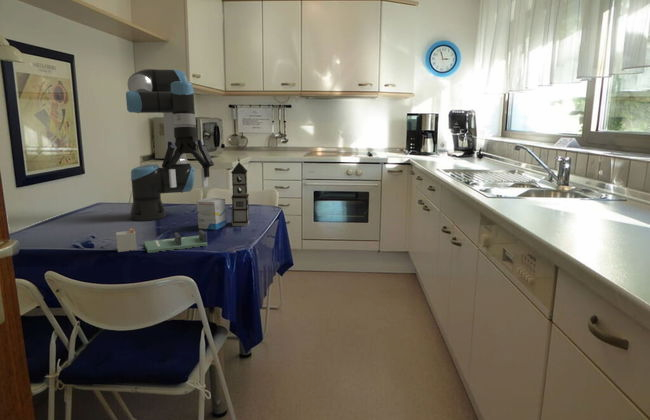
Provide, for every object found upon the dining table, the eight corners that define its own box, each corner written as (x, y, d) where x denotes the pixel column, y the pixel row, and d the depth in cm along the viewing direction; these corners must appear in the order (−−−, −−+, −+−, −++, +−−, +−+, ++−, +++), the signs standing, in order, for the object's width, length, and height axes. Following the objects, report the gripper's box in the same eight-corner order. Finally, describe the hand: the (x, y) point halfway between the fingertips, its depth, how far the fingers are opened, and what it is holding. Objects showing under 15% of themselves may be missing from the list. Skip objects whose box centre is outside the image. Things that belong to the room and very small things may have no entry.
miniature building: (248, 225, 192) (246, 154, 186) (231, 226, 192) (228, 154, 185) (249, 221, 199) (247, 152, 193) (233, 222, 199) (230, 152, 192)
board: (144, 244, 165) (143, 233, 164) (200, 237, 174) (200, 227, 173) (147, 253, 154) (147, 241, 153) (207, 245, 163) (207, 235, 162)
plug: (117, 249, 159) (115, 229, 158) (135, 246, 162) (134, 227, 160) (117, 252, 156) (116, 232, 154) (136, 249, 158) (135, 230, 157)
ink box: (227, 225, 193) (225, 198, 190) (216, 230, 185) (214, 201, 182) (209, 223, 195) (208, 196, 193) (197, 228, 188) (196, 200, 185)
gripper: (148, 128, 162) (153, 188, 164) (208, 124, 153) (213, 187, 156) (162, 129, 169) (167, 186, 171) (221, 125, 160) (225, 185, 163)
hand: (189, 187), depth 163 cm, fingers open, 13 cm apart
